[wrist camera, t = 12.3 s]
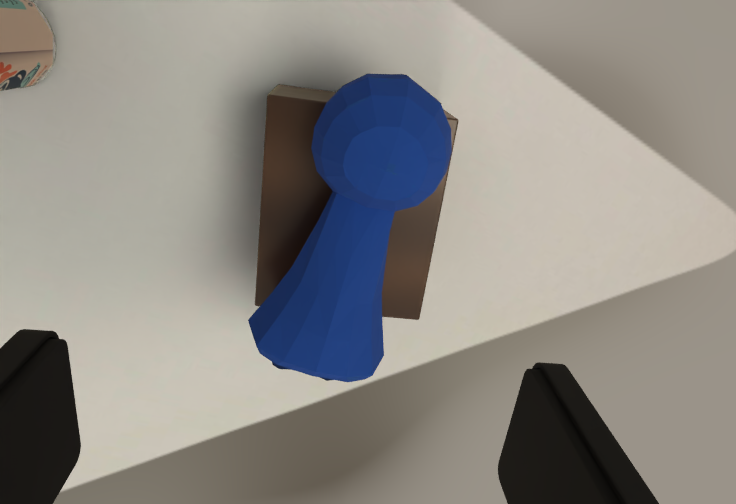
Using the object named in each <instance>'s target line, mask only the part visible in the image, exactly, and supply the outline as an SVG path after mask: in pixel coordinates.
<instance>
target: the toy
mask: <svg viewBox="0 0 736 504" xmlns="http://www.w3.org/2000/svg"><path fill="white" fill-rule="evenodd" d="M311 149H312V154H313V158H314V162H315V166H316V170H317V172H318V173H319V175H320V176H321V177H322V178H323V179H324V181H325V182H326V183H327V184H328V186H329V187H330V188H331V189H332V191H333V192H332V194H331V196H330V198H329V200H328V202H327V204H326V206H325V208H324V210H323V212H322V214H321V216H320V218H319V220H318V222H317V224H316V225H315V227H314V229H313V231H312V232H311V234H310V236H309V238H308V239H307V241H306V243H305V245H304V246H303V248H302V250H301V252H300V253H299V255H298V257H297V259H296V260H295V262H294V264H293V266H292V267H291V268H290V270H289V271H288V272H287V274H286V275H285V276H284V278H283V279H282V280H281V281H280V283H279V284H278V285H277V287H276V288H275V289H274V290H273V292H272V293H271V294H270V295H269V297H268V298H267V299H266V300H265V301H264V302H263V303H262V305H261V306H260V307H259V308H258V309H257V310H256V312H255V313H254V314H253V315H252V316H251V317H250V319H249V320H248V321H249V324H250V327H251V330H252V333H253V336H254V340H255V343H256V346H257V348H258V350H259V352H260V354H262V355H263V356H265V357H266V358H268V359H269V360H271V361H272V363H273V365H274V366H276V367H277V368H279V369H292V370H296V371H299V372H302V373H305V374H308V375H311V376H316V377H320V378H322V379H325V380H339V381H344V382H352V381H358V380H363V379H366V378H368V377H370V376H372V375H373V373H374V372H375V370H376V368H377V366H378V365H379V363H380V361H381V359H382V358H383V356H384V349H383V329H382V287H383V279H384V271H385V264H386V256H387V248H388V241H389V234H390V229H391V225H392V221H393V217H394V213H395V211H399V210H403V209H407V208H411V207H415V206H418V205H419V204H420V203H421V202H423V201H424V200H425V199H426V198H428V197H429V196H430V195H431V194H433V192H434V191H435V190H436V189H437V187H438V185H439V184H440V182H441V180H442V179H443V177H444V175H445V174H446V172H447V169H448V165H449V161H450V157H451V153H452V142H451V128H450V125H449V123H448V120H447V118H446V115H445V113H444V111H443V108H442V106H441V103H440V102H439V101H438V100H437V99H435V98H434V97H433V96H432V95H430V94H429V93H428V92H427V91H425V90H424V89H423V88H422V87H421V86H419V85H418V84H417V83H416V82H414V81H413V80H412V79H411V78H409V77H408V76H407V75H404V74H392V75H391V74H366V75H364V76H362V77H360V78H358V79H356V80H354V81H352V82H350V83H348V84H346V85H344V86H342V87H341V88H340V89H339V90H338V91H337V92H336V93H335V94H334V95H333V96H332V97H331V99H330V100H329V101H328V102H327V103H326V105H325V107H324V109H323V111H322V113H321V115H320V117H319V119H318V121H317V123H316V125H315V127H314V133H313V140H312V147H311Z"/></svg>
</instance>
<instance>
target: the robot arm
mask: <svg viewBox="0 0 736 504" xmlns="http://www.w3.org/2000/svg"><path fill="white" fill-rule="evenodd" d="M80 448H81V443H80V435H79V428H78V420H77V413H76V405H75V398H74V390H73V383H72V375H71V368H70V361H69V353H68V346H67V343H66V341H65V340H63V339H59V337H58V335H57V333H56V332H54V331H42V330H27V329H23V330H20V331H18V332H17V333H16V334H15V335H14V336H13V337H12V338H11V339H10V340H9V341H7V342H6V343H5V344H4V345H3V346H2V347H1V348H0V504H53V502H54V500H55V499H56V497H57V495H58V494H59V492H60V490H61V489H62V487H63V485H64V484H65V482H66V480H67V478H68V477H69V475H70V473H71V472H72V470H73V468H74V466H75V465H76V463H77V461H78V458H79V454H80ZM498 475H499V480H500V483H501V486H502V489H503V492H504V494H505V497H506V500H507V503H508V504H659V503H658V501H657V500H656V499H655V497H654V496H653V494H652V492H651V491H650V490H649V488H648V487H647V485H646V484H645V482H644V481H643V479H642V478H641V476H640V475H639V473H638V472H637V470H636V469H635V467H634V466H633V464H632V463H631V461H630V460H629V458H628V457H627V455H626V454H625V453H624V451H623V449H622V448H621V446H620V445H619V444H618V442H617V441H616V439H615V438H614V436H613V435H612V433H611V432H610V430H609V429H608V427H607V426H606V424H605V423H604V421H603V420H602V418H601V417H600V416H599V414H598V412H597V411H596V410H595V408H594V406H593V405H592V404H591V402H590V401H589V399H588V398H587V396H586V395H585V393H584V392H583V390H582V389H581V387H580V386H579V384H578V383H577V381H576V380H575V378H574V377H573V375H572V374H571V372H570V371H569V370H568V368H567V367H566V366H565V365H563V364H553V363H536V364H535V365H534V366H533V368H532V369H527V370H526V371H525V373H524V377H523V380H522V384H521V387H520V390H519V394H518V397H517V401H516V404H515V408H514V411H513V414H512V418H511V421H510V425H509V429H508V432H507V435H506V439H505V442H504V446H503V449H502V453H501V456H500V460H499V464H498Z"/></svg>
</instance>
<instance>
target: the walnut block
mask: <svg viewBox="0 0 736 504" xmlns="http://www.w3.org/2000/svg"><path fill="white" fill-rule="evenodd" d="M335 93H336V92H332V91H325V90H317V89H310V88H302V87H295V86H287V85H280V84H279V85H277V86H276V87H275V88H274V89H273V90H272V91H271V92H270V93H269V94H268V95H267V108H266V125H265V142H264V159H263V176H262V193H261V210H260V227H259V244H258V261H257V278H256V295H255V305H256V306H261V305H262V303H263V302H264V301H265V300H266V299H267V298H268V297H269V295H270V294H271V293H272V292H273V290H274V289H275V288H276V287H277V285H278V284H279V283H280V281H281V280H282V279H283V278H284V276H285V275H286V274H287V272H288V271H289V270H290V268H291V267H292V266H293V264H294V262H295V260H296V259H297V257H298V255H299V253H300V252H301V250H302V248H303V246H304V245H305V243H306V241H307V239H308V238H309V236H310V234H311V232H312V231H313V229H314V227H315V225H316V224H317V222H318V220H319V218H320V216H321V214H322V212H323V210H324V208H325V206H326V204H327V202H328V200H329V198H330V196H331V194H332V192H333V191H332V189H331V188H330V187H329V186H328V184H327V183H326V182H325V181H324V179H323V178H322V177H321V176H320V175H319V173H318V172H317V170H316V166H315V162H314V158H313V154H312V149H311V147H312V140H313V133H314V127H315V125H316V123H317V121H318V119H319V117H320V115H321V113H322V111H323V109H324V107H325V105H326V103H327V102H328V101H329V100H330V99H331V97H332V96H333V95H334V94H335ZM443 111H444V113H445V115H446V118H447V120H448V123H449V125H450V128H451V142H452V150H453V145H454V140H455V135H456V130H457V125H458V119H457V118H455V117H454V116H452V115H451V114H449V113H448V112H446V111H445V110H443ZM451 155H452V153H451ZM450 161H451V157H450ZM450 161H449V165H448V169H447V172H446V174H445V175H444V177H443V179H442V180H441V182H440V184H439V185H438V187H437V189H436V190H435V191H434V192H433V194H431V195H430V196H429V197H428V198H426V199H425V200H424V201H423V202H421V203H420V204H419V205H418V206H415V207H411V208H407V209H403V210H399V211H395V213H394V217H393V221H392V225H391V229H390V234H389V241H388V248H387V256H386V264H385V271H384V279H383V287H382V317H393V318H404V319H416V320H418V319H419V317H420V312H421V307H422V302H423V297H424V292H425V287H426V282H427V277H428V272H429V267H430V262H431V257H432V252H433V247H434V241H435V236H436V231H437V226H438V221H439V216H440V211H441V206H442V201H443V196H444V191H445V186H446V181H447V176H448V171H449V166H450Z"/></svg>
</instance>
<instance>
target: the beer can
mask: <svg viewBox="0 0 736 504" xmlns="http://www.w3.org/2000/svg"><path fill="white" fill-rule="evenodd" d="M55 54H56V45H55V39H54V35H53V32H52V29H51V27H50V24H49V23H48V21H47V19H46V17H45V16H44V14H43V13H42V12H41V11H40V9H39V8H38V7H37V6H36V5H35V4H34V3H33V2H32V1H30V0H0V91H2V90H8V89H14V88H24V87H29V86H33V85H36V84H37V83H39V82H40V81H42V80H43V79H44V78H45V77H46V76H47V74H48V73H49V72H50V70H51V68H52V66H53V64H54V60H55Z"/></svg>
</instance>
